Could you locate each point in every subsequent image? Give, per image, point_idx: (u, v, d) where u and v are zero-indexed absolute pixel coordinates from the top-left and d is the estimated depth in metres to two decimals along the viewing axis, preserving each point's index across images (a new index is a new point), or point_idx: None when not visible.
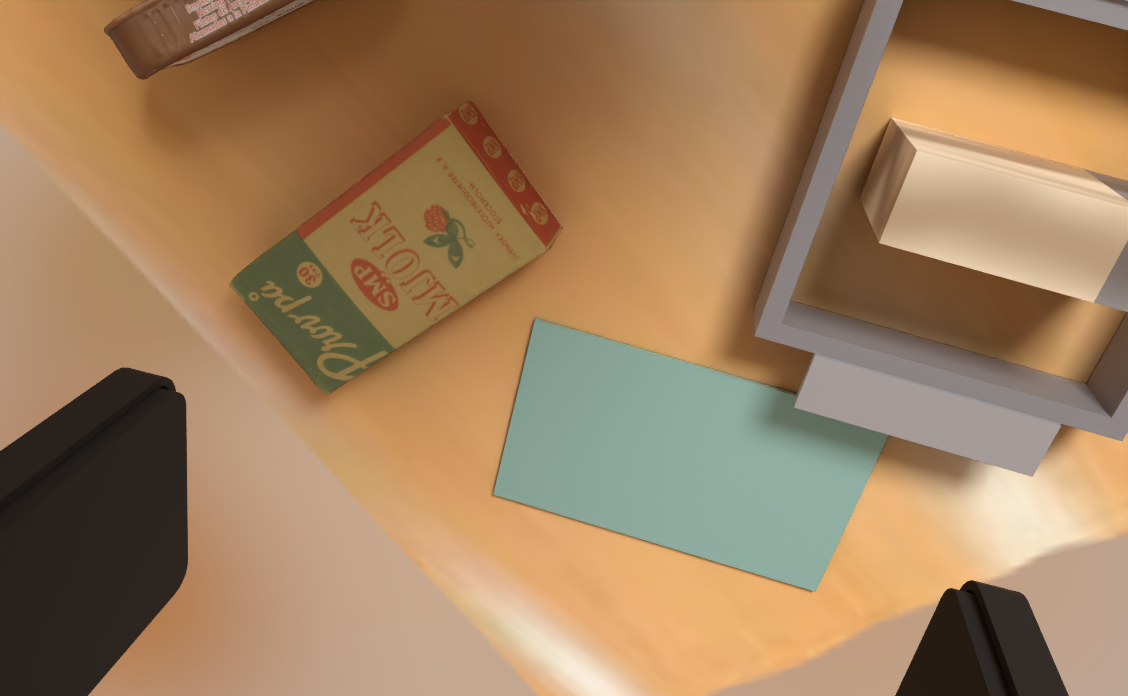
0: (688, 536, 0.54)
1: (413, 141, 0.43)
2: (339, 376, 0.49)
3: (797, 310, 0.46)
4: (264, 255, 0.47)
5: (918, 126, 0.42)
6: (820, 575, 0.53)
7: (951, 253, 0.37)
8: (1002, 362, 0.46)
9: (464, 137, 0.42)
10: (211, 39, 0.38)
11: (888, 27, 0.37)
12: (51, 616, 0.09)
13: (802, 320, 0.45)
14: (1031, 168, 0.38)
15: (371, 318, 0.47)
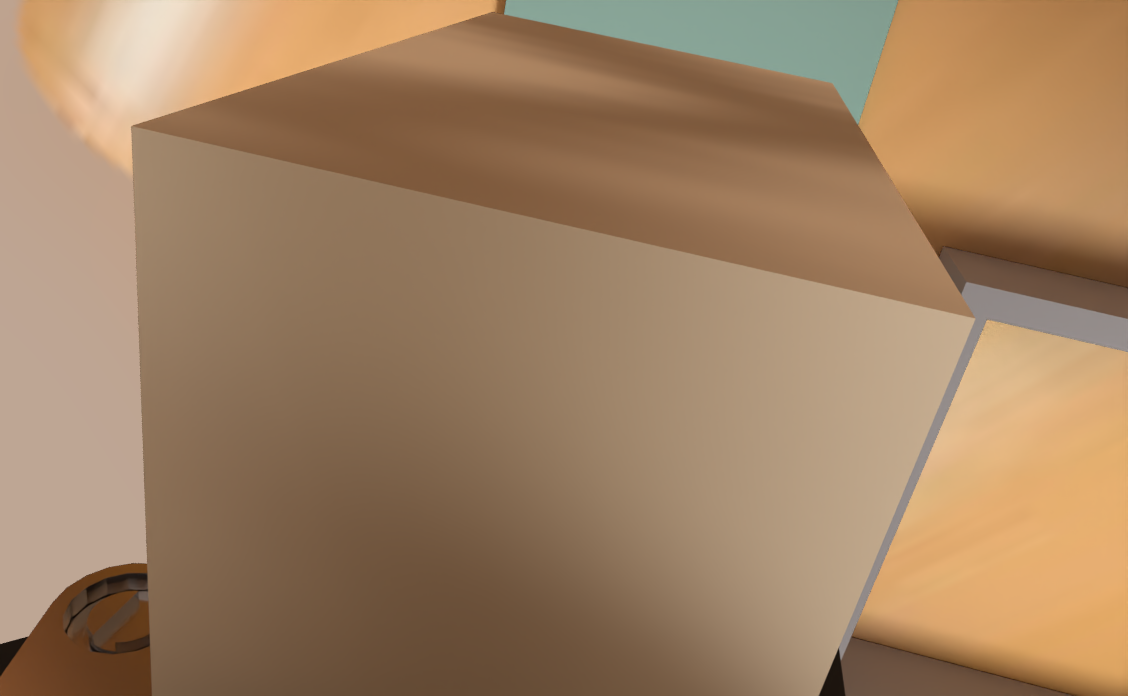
0: None
1: None
2: None
3: None
4: None
5: None
6: None
7: (207, 608, 0.06)
8: None
9: None
10: None
11: None
12: None
13: None
14: None
15: None
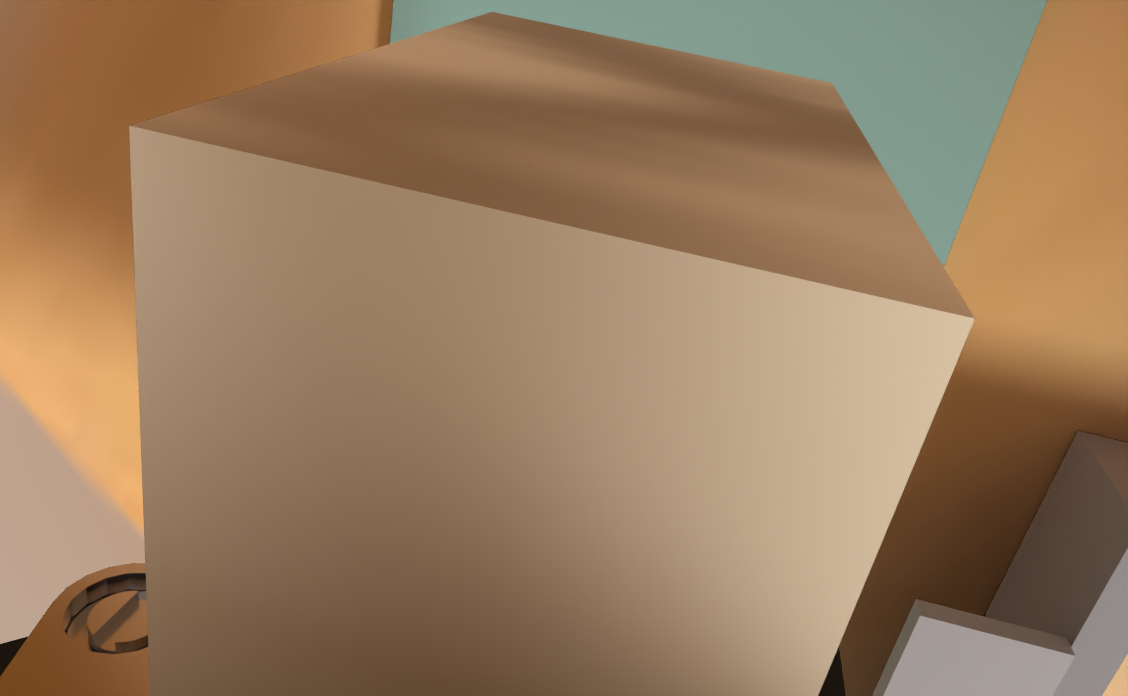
0: None
1: None
2: None
3: None
4: None
5: None
6: None
7: (205, 609, 0.06)
8: None
9: None
10: None
11: None
12: None
13: None
14: None
15: None
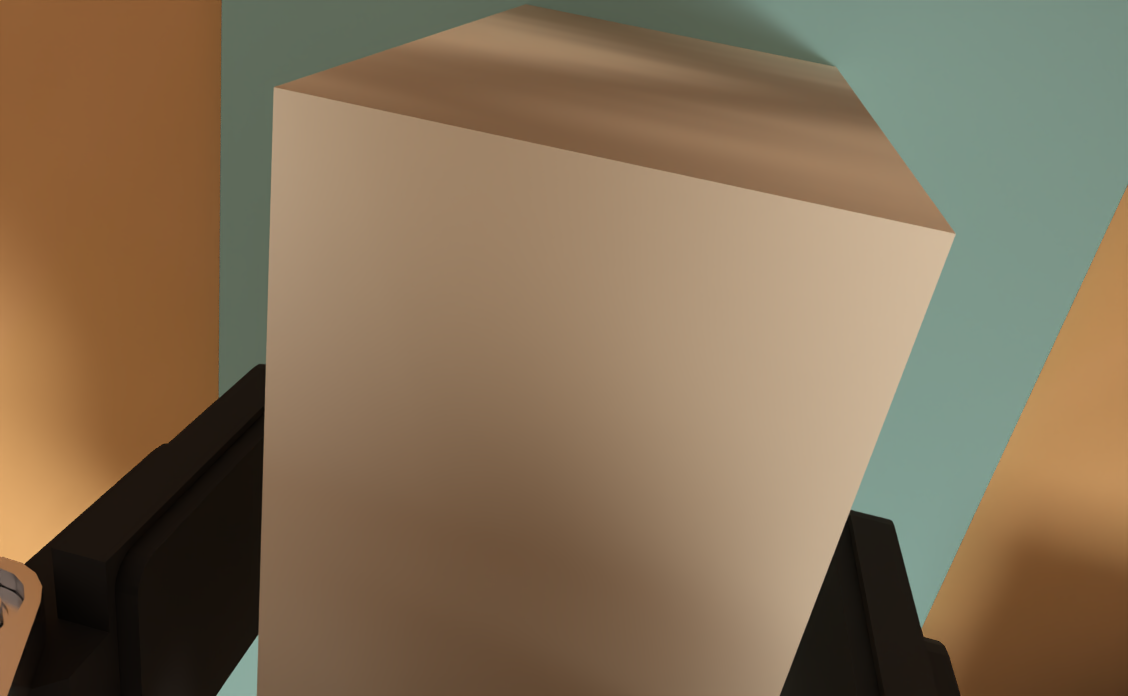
0: None
1: None
2: None
3: None
4: None
5: None
6: None
7: (313, 502, 0.07)
8: None
9: None
10: None
11: None
12: (213, 596, 0.10)
13: None
14: None
15: None
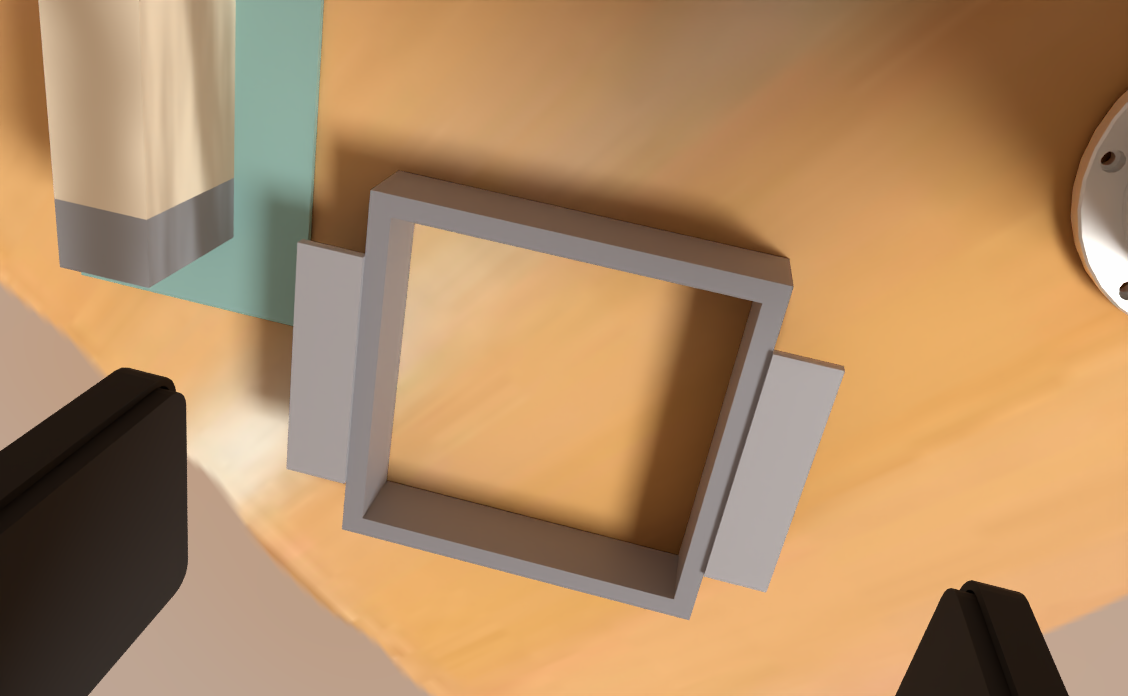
0: None
1: None
2: None
3: (407, 221, 0.41)
4: None
5: (229, 4, 0.39)
6: (103, 277, 0.46)
7: (51, 45, 0.34)
8: (392, 413, 0.46)
9: None
10: None
11: (712, 287, 0.37)
12: (51, 616, 0.09)
13: (398, 233, 0.40)
14: (188, 118, 0.38)
15: None
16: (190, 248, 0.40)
